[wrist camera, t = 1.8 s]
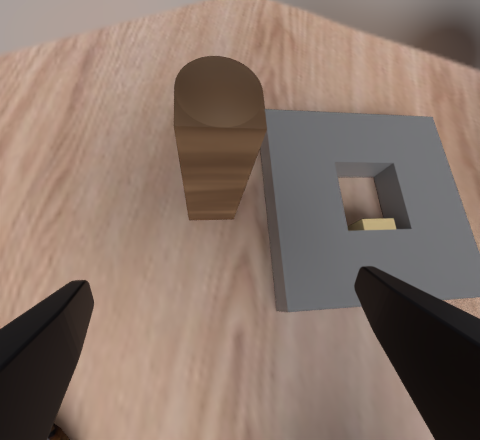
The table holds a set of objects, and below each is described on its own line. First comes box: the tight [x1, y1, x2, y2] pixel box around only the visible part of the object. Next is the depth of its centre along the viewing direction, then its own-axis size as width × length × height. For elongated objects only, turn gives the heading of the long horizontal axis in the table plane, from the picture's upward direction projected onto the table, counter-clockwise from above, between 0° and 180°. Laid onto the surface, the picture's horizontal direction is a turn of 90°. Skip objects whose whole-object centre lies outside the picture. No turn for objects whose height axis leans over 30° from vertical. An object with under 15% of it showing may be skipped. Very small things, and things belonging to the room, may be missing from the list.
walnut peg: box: [174, 56, 267, 220], centre depth 18 cm, size 4×4×13 cm
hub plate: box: [260, 109, 480, 312], centre depth 24 cm, size 18×18×3 cm
